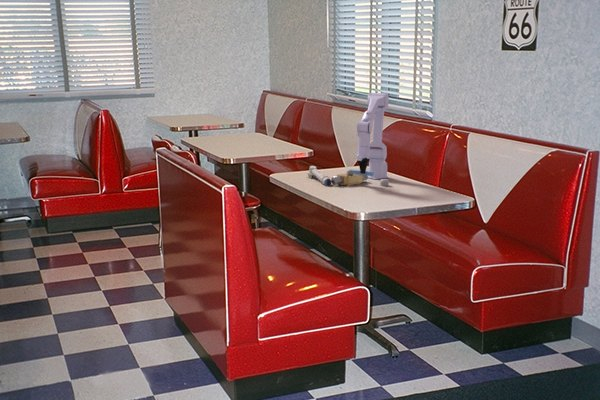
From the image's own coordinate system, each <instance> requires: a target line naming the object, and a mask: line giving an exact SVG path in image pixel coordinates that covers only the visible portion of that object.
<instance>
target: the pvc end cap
mask: <svg viewBox="0 0 600 400" xmlns="http://www.w3.org/2000/svg"><path fill="white" fill-rule="evenodd" d="M389 183H390V180H389V179H388V178H381V179H380V185H379V186H381V187H389V186H390V185H389Z"/></svg>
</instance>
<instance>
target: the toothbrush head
mask: <svg viewBox="0 0 600 400" xmlns="http://www.w3.org/2000/svg"><path fill="white" fill-rule="evenodd" d="M306 174H307V178H309V179H313V180H314V179H318V180H319V181H320V183H322V185H325V186H328V187H330V186H331V185H332V181H331V179H330V176H328V175H326V174H324V173H322V172H321V171H320V170H318V169H317V166H315V165H309V170H308V171H307V173H306Z"/></svg>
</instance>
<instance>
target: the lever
mask: <svg viewBox="0 0 600 400" xmlns="http://www.w3.org/2000/svg"><path fill="white" fill-rule="evenodd" d="M346 173H347V175H353V174H357V175H367V176H373V174H374V172H373V171H369V170H366V172H365V174H362V173H360V169H352V168H351V169H346Z"/></svg>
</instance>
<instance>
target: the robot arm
mask: <svg viewBox="0 0 600 400" xmlns="http://www.w3.org/2000/svg"><path fill="white" fill-rule="evenodd" d="M389 99H390V97H389V94H388V93H387V92H384V93H383V92H372V91H371V92H369V93H368V94H367V104H368V107H367V110H366V111H364V112H363V114H362V118H361V120H360V121H358V123H357V125H356V130H357V138H358V142H357V154H356V153H355V155H354V156H355V157H357V158H356V161H357V163H358V167H359V170H360V173H362V174H365V172H366V171H367V168H368V171H373V172H374V174H373V176H368V178H367V179H371V180H372V179H373V180H381V179H388V178H389V177H388V162H386V159H387V157H388V152H387V151H388V150H387V145H385V143H383V141H382V140H383V132H384V131H383V130H384V119H385V118H384V115H385V111H386V110H388V109H389V101H390V100H389ZM372 131H373V133H372ZM371 134H372V142H371Z"/></svg>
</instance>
